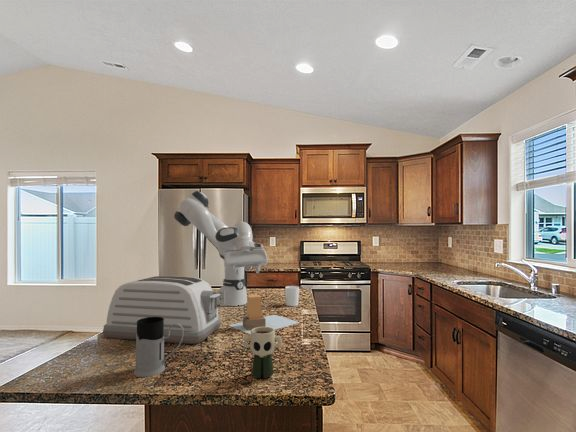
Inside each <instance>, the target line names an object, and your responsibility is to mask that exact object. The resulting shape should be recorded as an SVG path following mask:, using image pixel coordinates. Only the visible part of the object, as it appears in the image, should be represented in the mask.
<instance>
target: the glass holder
mask: <svg viewBox="0 0 576 432" xmlns="http://www.w3.org/2000/svg"><path fill="white" fill-rule="evenodd" d="M173 325H179V326H180V327H181V329H182V337H181V341H180V343H178V345H177V346H176V348H175V349H174V350H173V351H172V352H171V353H170V354H167V356H166V357H164V356H165V342H164V339H166V338H168V337H169V335H170V329H171V327H172V326H173ZM173 325H171V326H170V328H169V330H168V337H164V318H162V317H147V318H143V319H140V320H138V321H137V330H136V340H135V367H134V368H135V369H134V370H133V375H134V376H135V377H140V378H149V377H153V376H156V375H160V374H161V373H163V372H165V370H166V366H165V362H166V360H167V359H168V358H169V357H170V356H172V355H173V354H174V353H175V352H176V351H177V350H178V349H179V347H180V346H181V344H182V343H181V342H182V339H183V332H184V331H183V327H182V326H181V325H180V324H176V323H175V324H173Z"/></svg>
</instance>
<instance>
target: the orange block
mask: <svg viewBox="0 0 576 432" xmlns="http://www.w3.org/2000/svg"><path fill="white" fill-rule="evenodd" d="M246 315H247V317H248V318H249V319H258V318H261V315H262V296H261V295H259V294H249V295H248V294H247V304H246Z"/></svg>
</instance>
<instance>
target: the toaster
mask: <svg viewBox="0 0 576 432" xmlns="http://www.w3.org/2000/svg"><path fill="white" fill-rule="evenodd" d="M219 295H221V294H217V291H215V290H213V289H212V286H211V285H210V283H209V282H207V281H206V280H204V279H202V278H199V277H193V276H186V275H185V276H183V275H156V276H151V277H147V278H142V279H138V280H135V281H134V280H133V281H129V282H126V283H123V284H121V285H120V286H119V287H117V289H116V290H115V291H114V294H113V295H112V298H111V300H110V303H109V307H108V310H107V317H106V324H104V325H103V330H102V335H103V336H104V337H106V338H108V339H119V340H120V339H121V340H133V341H136V330H137V321H138V320H140V319H143V318H147V317H162V318H164V337H168V330H169V328H170V326H171V325H173V324H175V323H176V324H180V325H181V326H182V327H183V331H184V332H183V339H182V342H181V344H186V345H195V344H199V343H200V344H201V342H203V341H204V340H206V339H207V338H208V337H209V336H210V335H212V334H213V333H214V332H216V331H217V330H218V329H220V327H221V326H222V322H221V317H220V316H219V310H218V304H217V296H219ZM181 337H182V329H181V327H180V326H179V325H173V326H172V327H171V329H170V335H169V337H168V338H166V339H164V343H174V344H179V343H180V341H181Z"/></svg>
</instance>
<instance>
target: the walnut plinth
mask: <svg viewBox="0 0 576 432" xmlns="http://www.w3.org/2000/svg"><path fill="white" fill-rule="evenodd" d="M264 317H265V316H263V315H262V314H261V318H258V319H249V318H248V317H247V314H246V315H242V322H243V326H244V327H245V329H246V330H252V329H253V328H256V327H266V319H265V318H264Z"/></svg>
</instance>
